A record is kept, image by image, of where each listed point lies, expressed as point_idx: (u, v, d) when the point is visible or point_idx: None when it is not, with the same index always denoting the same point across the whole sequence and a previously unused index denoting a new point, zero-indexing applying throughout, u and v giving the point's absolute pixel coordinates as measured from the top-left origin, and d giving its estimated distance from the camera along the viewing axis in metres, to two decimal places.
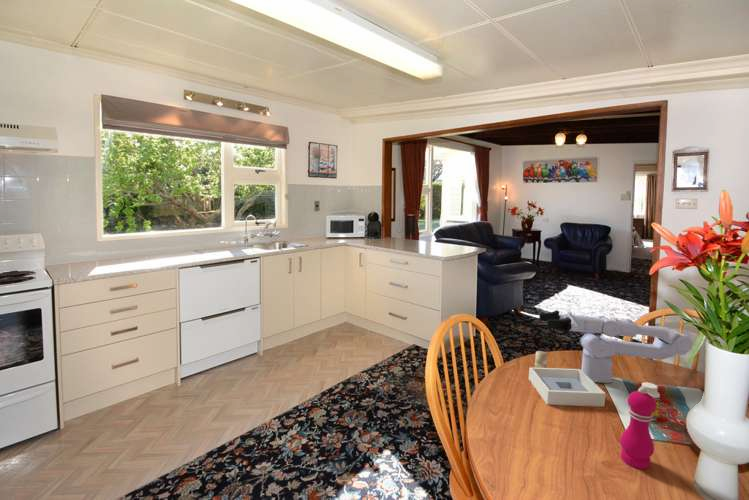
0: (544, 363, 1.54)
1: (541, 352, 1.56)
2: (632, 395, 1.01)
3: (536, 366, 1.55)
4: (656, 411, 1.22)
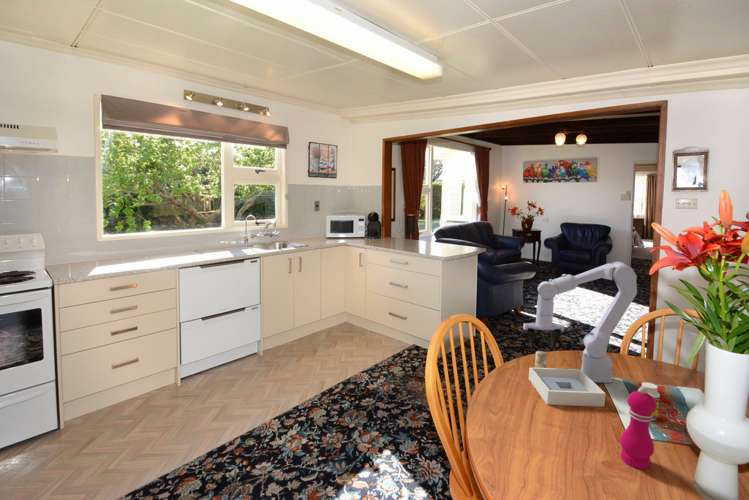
0: (544, 363, 1.54)
1: (541, 352, 1.56)
2: (632, 395, 1.01)
3: (536, 366, 1.55)
4: (656, 411, 1.22)
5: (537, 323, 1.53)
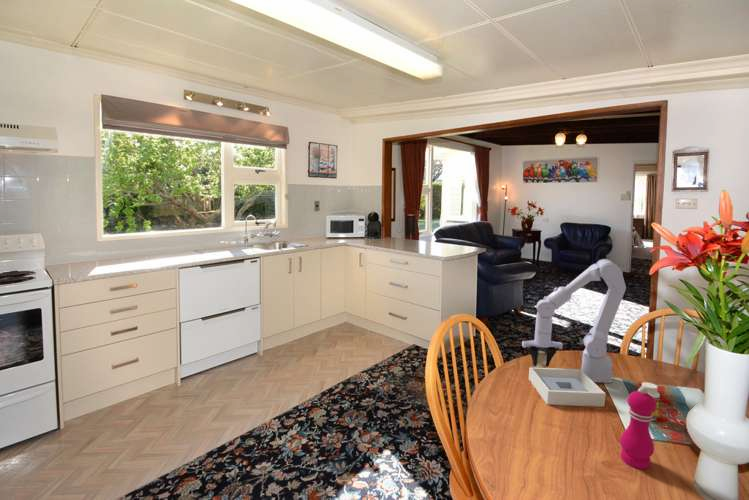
0: (544, 363, 1.54)
1: (541, 352, 1.56)
2: (632, 395, 1.01)
3: (536, 366, 1.55)
4: (656, 411, 1.22)
5: (535, 341, 1.54)
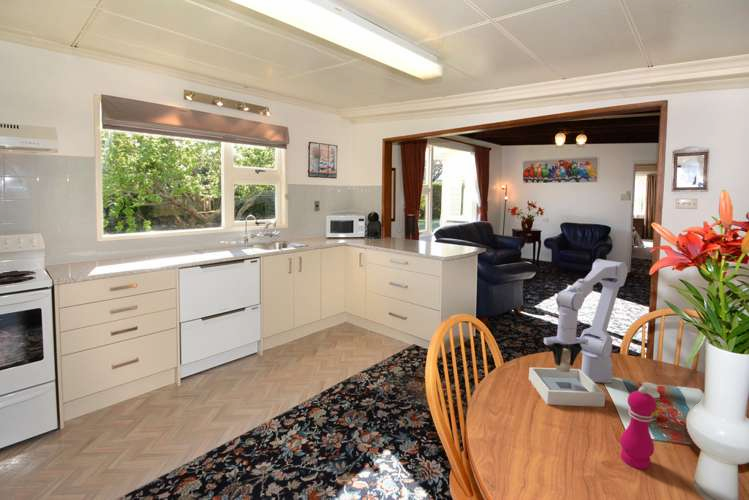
0: (568, 361, 1.37)
1: (564, 349, 1.39)
2: (632, 395, 1.01)
3: None
4: (656, 411, 1.22)
5: (559, 337, 1.37)
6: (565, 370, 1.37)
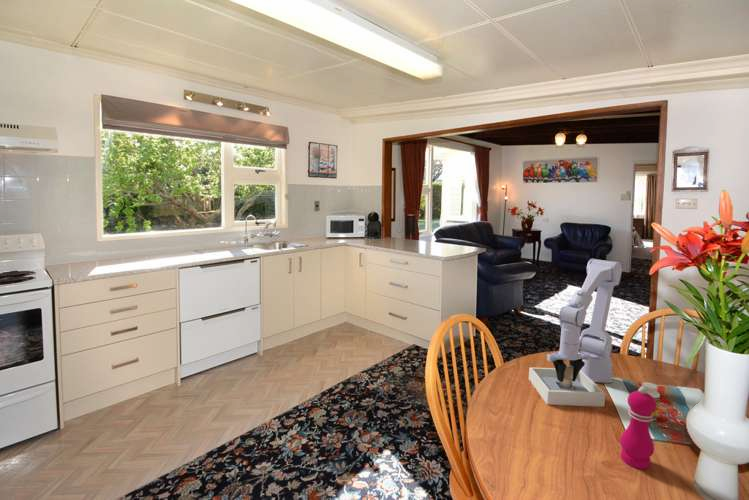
0: (571, 377, 1.36)
1: None
2: (632, 395, 1.01)
3: None
4: (656, 411, 1.22)
5: (562, 353, 1.35)
6: (568, 386, 1.36)
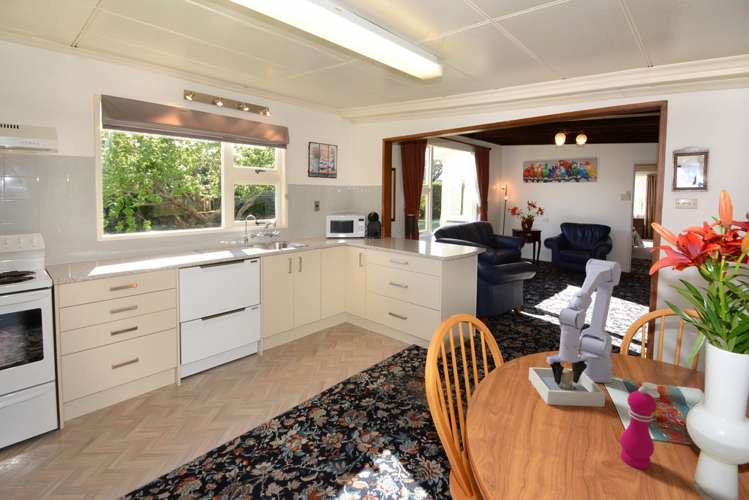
0: (571, 383, 1.36)
1: (566, 370, 1.38)
2: (632, 395, 1.01)
3: (562, 387, 1.37)
4: (656, 411, 1.22)
5: (562, 356, 1.35)
6: None
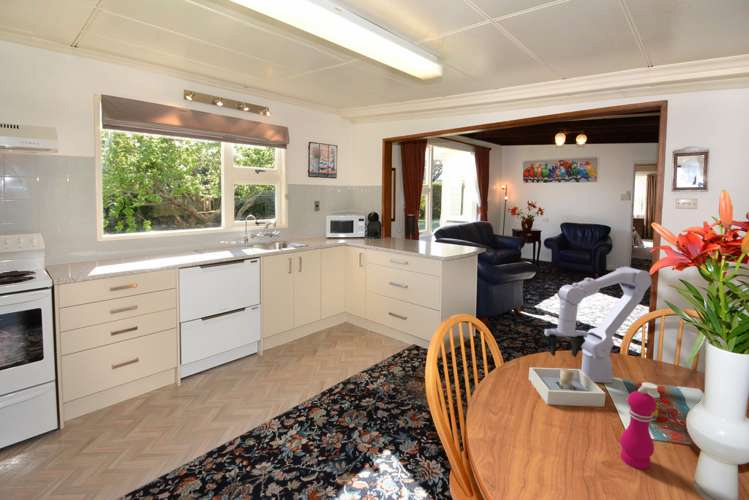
0: (571, 383, 1.36)
1: (566, 370, 1.38)
2: (632, 395, 1.01)
3: (562, 387, 1.37)
4: (656, 411, 1.22)
5: (559, 329, 1.45)
6: None
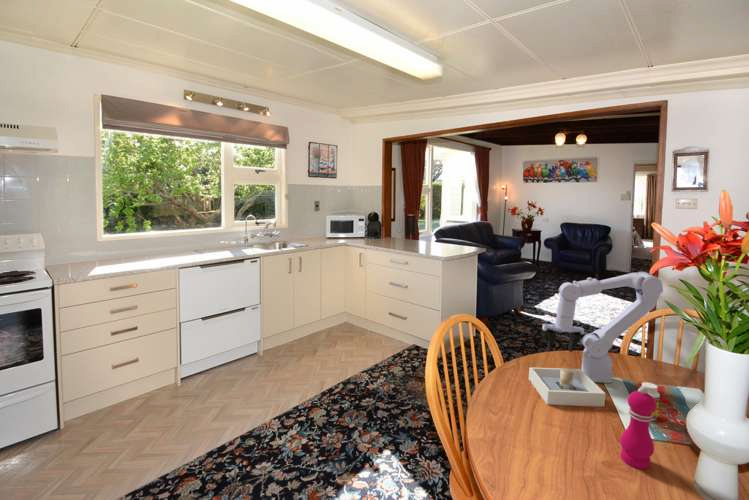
0: (571, 383, 1.36)
1: (566, 370, 1.38)
2: (632, 395, 1.01)
3: (562, 387, 1.37)
4: (656, 411, 1.22)
5: (556, 324, 1.50)
6: None
